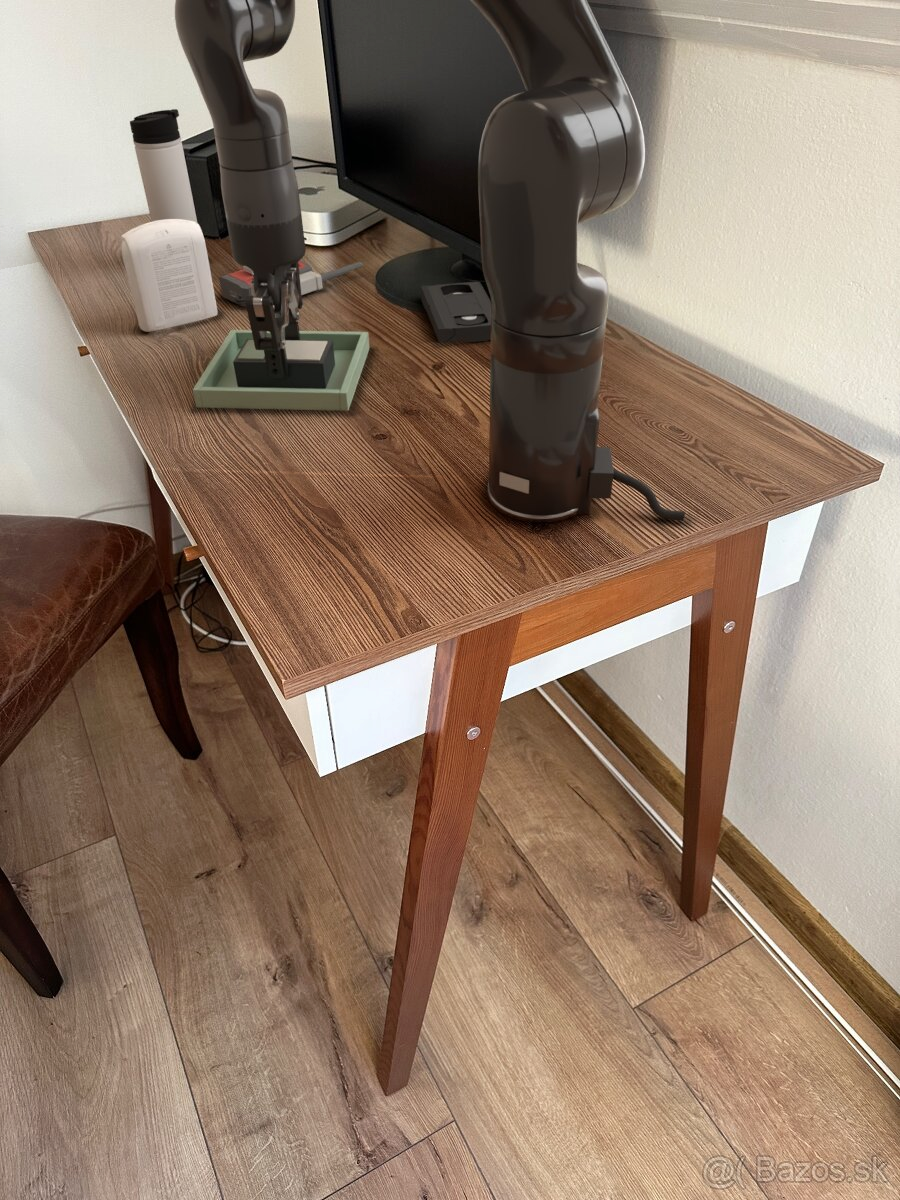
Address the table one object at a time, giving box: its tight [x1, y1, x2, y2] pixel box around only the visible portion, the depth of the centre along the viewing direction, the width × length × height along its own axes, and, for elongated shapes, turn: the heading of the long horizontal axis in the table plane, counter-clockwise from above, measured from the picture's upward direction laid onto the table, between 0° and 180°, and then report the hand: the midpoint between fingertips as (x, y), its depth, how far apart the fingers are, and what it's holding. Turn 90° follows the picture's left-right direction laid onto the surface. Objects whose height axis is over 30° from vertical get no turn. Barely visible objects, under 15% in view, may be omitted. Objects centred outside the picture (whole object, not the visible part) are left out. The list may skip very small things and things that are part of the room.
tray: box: [192, 329, 370, 411], centre depth 100 cm, size 17×16×2 cm
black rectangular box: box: [233, 339, 335, 388], centre depth 100 cm, size 10×6×3 cm, turn 86°
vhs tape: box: [420, 281, 491, 344], centre depth 112 cm, size 14×8×2 cm, turn 10°
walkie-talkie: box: [218, 259, 364, 307], centre depth 121 cm, size 9×4×20 cm
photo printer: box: [120, 219, 219, 333], centre depth 110 cm, size 10×4×12 cm, turn 123°
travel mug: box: [129, 108, 199, 224], centre depth 124 cm, size 6×7×20 cm
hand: (285, 365), depth 100 cm, fingers closed on black rectangular box, 6 cm apart
